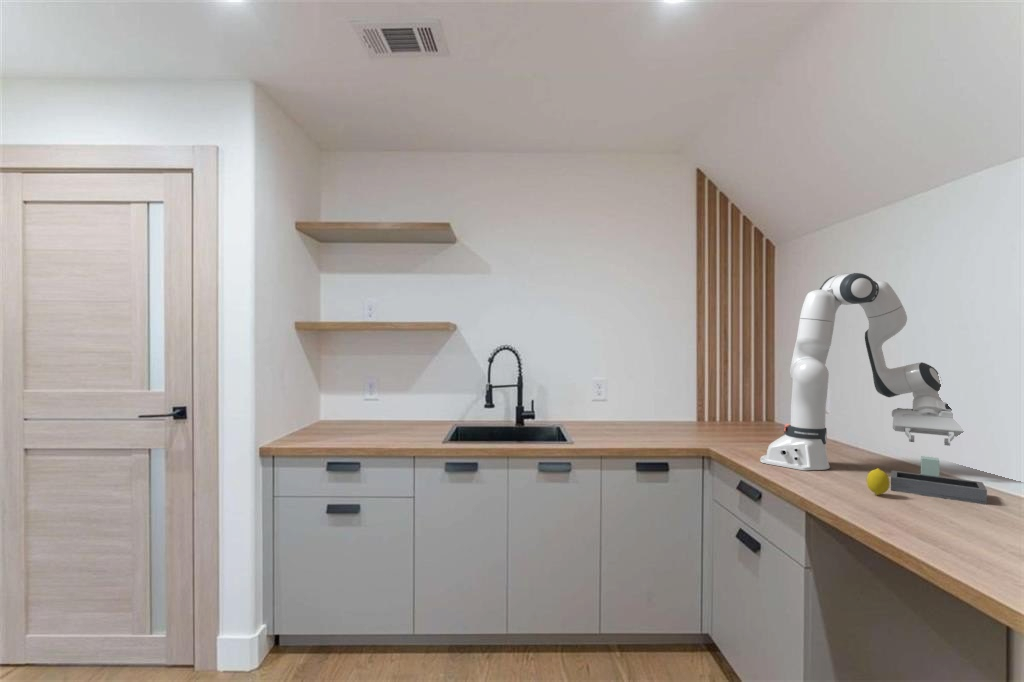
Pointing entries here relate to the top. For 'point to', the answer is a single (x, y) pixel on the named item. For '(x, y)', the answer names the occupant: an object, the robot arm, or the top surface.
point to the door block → (929, 466)
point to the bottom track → (939, 487)
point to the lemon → (878, 481)
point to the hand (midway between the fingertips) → (929, 442)
